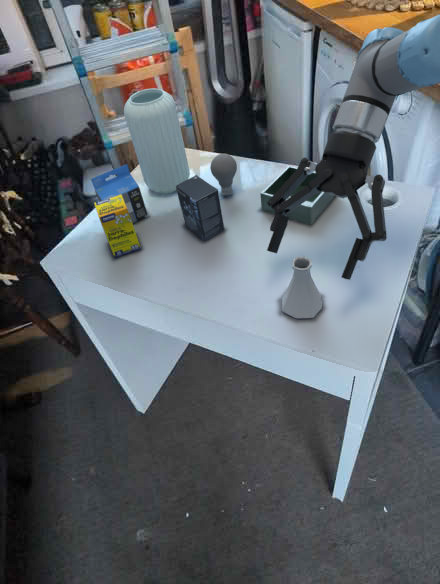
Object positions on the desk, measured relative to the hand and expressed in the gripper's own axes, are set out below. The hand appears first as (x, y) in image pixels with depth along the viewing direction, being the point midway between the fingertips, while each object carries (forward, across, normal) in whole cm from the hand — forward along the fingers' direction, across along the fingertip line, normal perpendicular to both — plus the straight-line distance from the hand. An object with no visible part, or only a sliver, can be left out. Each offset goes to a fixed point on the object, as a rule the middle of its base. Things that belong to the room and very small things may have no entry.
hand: (307, 265), depth 72 cm
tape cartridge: (+5, +47, -7) cm, 48 cm away
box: (0, +29, -11) cm, 31 cm away
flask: (+7, 0, -4) cm, 8 cm away
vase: (-6, +48, -18) cm, 52 cm away
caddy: (-12, +15, -23) cm, 30 cm away
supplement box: (+10, +41, -2) cm, 42 cm away
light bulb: (-9, +32, -20) cm, 39 cm away
